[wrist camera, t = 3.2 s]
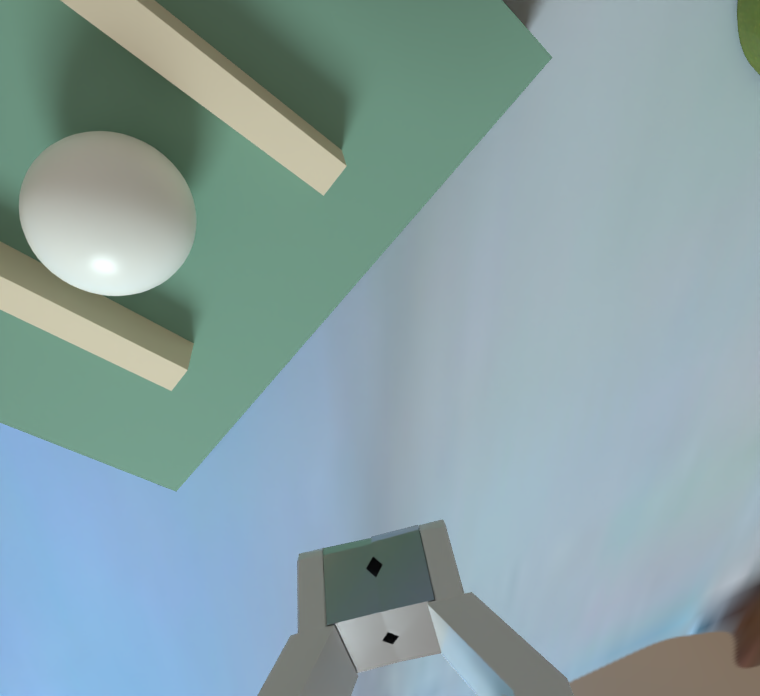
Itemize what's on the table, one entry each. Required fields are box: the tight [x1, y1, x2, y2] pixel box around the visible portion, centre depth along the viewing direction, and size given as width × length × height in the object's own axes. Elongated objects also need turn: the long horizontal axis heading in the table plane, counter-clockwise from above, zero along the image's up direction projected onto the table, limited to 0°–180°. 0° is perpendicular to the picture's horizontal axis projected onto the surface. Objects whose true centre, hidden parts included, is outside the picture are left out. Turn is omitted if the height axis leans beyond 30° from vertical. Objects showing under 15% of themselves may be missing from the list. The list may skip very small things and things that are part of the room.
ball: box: [19, 131, 197, 296], centre depth 14 cm, size 4×4×4 cm
